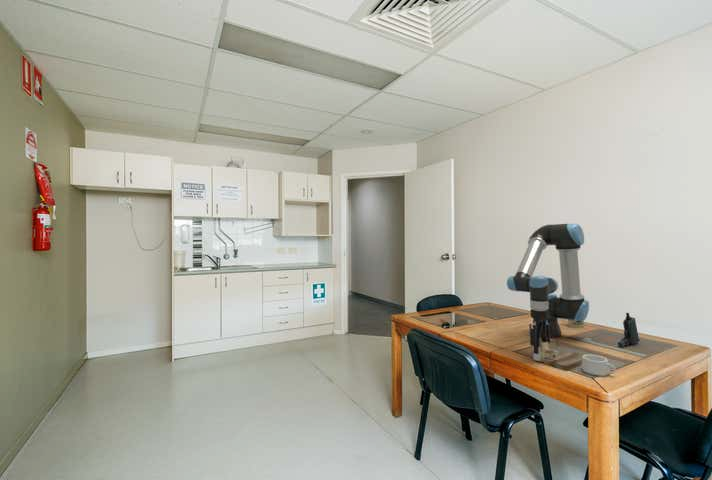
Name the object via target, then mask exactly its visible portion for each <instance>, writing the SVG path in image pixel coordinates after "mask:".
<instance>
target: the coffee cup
mask: <svg viewBox="0 0 712 480" xmlns="http://www.w3.org/2000/svg"><path fill="white" fill-rule="evenodd" d="M567 320H568V319H567ZM584 322H585V320H584V321H574V320H568V322H567V323H568V327H569V328H575V329H583V328H584V325H585V323H584Z"/></svg>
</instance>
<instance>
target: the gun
mask: <svg viewBox="0 0 712 480" xmlns="http://www.w3.org/2000/svg"><path fill="white" fill-rule="evenodd" d="M625 315H626V316H625V319H624V320H623V321H622V322H623V323H622V324H623V330H624V331H623V335H624V337H623V338H621V339H620V341H618V342H617V345H618V348H621V349H623V348H624V346H626V347H628V346H629V345H631V346H635V345H636V344H637V343H639V342H641V340H640V338H639V333H638V332H639V331H638V328H637V323H636V322H637V321H636V318H635V317H632V316H630V313H629V312H625Z"/></svg>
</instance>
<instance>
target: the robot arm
mask: <svg viewBox="0 0 712 480" xmlns="http://www.w3.org/2000/svg"><path fill="white" fill-rule="evenodd" d="M584 243H585V234H584V229H583V228H582V227H581V225H580V224H578V223H559V224H558V223H557V224H545V225H542V226H540V227H539V228H537V229H536V230H535V231H534V232H533V233H532V234H531V235H530V237H529V238H528V241H527V245H528V246H527V248H526V250H525V252H524V254H523V256H522V259H521V262H520V264H519V266H518V269H517V270H516V273H515V275H509V276H508V277H507V280H506V286H507V289H508V290H510V291H513V292H524V293H525V292H526V293H529V297H530V298H529V299H530V300H529V303H530V304H529V305H530V306H529V308H530V317H531V318H532V320H533V321H532V324H531V323H529V336H530V337H529V339H530V340H529V344H530V346H534V359H533V360H535V361H537V362H541V349H540V347H539V343H540V341H544V342H548V343H549V345H550V344H551V338H554V339H555V338H561V336H562V329H561V328H560V324H559V322H558V319H563V320H574V321H584V322H585V320H587V317H588V314H589V309H590V303H589V300H587V299H585V296H584V295H583V294H582V293H581V284H580V283H581V282H580V268H579V267H580V266H579V255H578V253H579V252H578V251H579V250H580V249H581V246H583V245H584ZM549 246H555V250H557V251H558V255H559V256H558V257H559V269H560V281H561V294H560V295H559V297H558V296H557V294H554V293H555V292H556V291H557V290H558V289H559V283H558V281H557V280H556V279H555V278H553V277H547V276H545V275H534V272H535V270H536V268H537V265H538V262H539V260H540V258H541V255H542V253H543V251H544V250H545V249H546V248H547V247H549Z"/></svg>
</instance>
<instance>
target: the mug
mask: <svg viewBox="0 0 712 480" xmlns="http://www.w3.org/2000/svg"><path fill="white" fill-rule="evenodd" d="M582 355H583V357H582V365H580V367H581V370H582V371H583V372H584V373H585V374H588V375H592V376H597V377H606V376H608V375H612V374H615V373H616V371H617V370H616V367H615V366H614V365H613V364H611V363H609V361H608V358H606V357H604V356H601V355H596V354H582ZM610 367H611V368H612V371H610Z"/></svg>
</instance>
